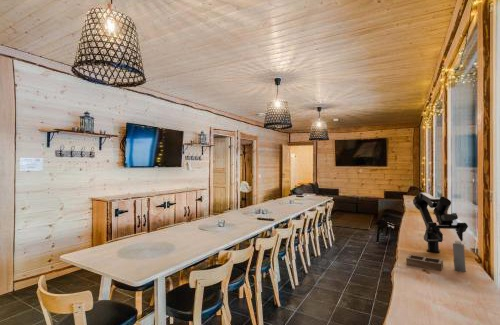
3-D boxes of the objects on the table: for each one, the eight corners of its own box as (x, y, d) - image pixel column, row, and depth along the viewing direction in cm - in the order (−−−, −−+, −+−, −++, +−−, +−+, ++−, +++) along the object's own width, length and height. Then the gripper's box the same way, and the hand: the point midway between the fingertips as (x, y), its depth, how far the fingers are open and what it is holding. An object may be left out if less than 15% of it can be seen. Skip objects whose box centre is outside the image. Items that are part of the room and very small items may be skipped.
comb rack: (409, 260, 155) (409, 254, 155) (443, 266, 144) (442, 259, 144) (406, 264, 148) (406, 258, 148) (441, 270, 138) (440, 264, 138)
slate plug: (454, 267, 142) (453, 239, 142) (466, 269, 138) (464, 240, 139) (453, 270, 138) (452, 241, 138) (465, 272, 135) (463, 242, 135)
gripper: (426, 208, 153) (436, 232, 142) (465, 207, 149) (477, 232, 138) (422, 219, 161) (430, 243, 150) (458, 219, 156) (470, 244, 145)
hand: (452, 240), depth 145 cm, fingers open, 9 cm apart
